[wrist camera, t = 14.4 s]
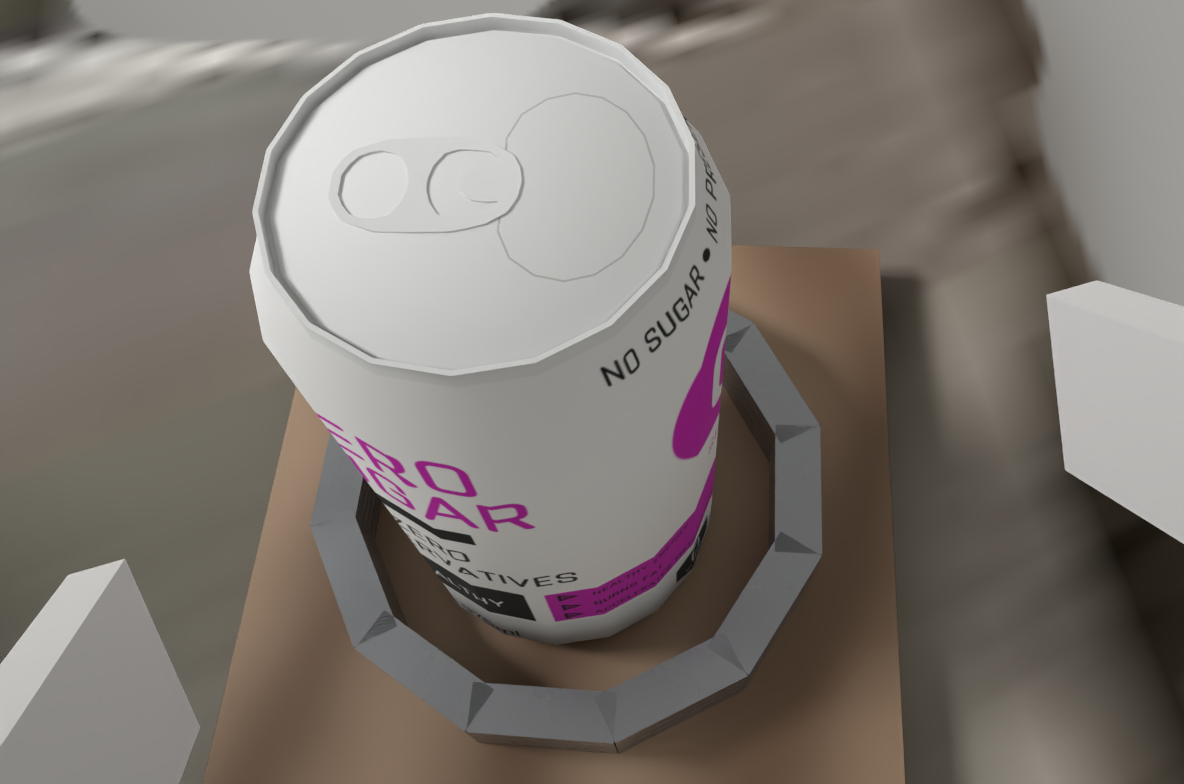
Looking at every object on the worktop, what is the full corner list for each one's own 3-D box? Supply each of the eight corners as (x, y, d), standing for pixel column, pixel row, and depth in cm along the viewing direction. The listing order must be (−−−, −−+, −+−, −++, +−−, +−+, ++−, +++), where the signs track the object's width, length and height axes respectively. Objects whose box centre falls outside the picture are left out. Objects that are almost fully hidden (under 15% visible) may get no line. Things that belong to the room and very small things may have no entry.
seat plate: (219, 814, 28) (196, 810, 26) (344, 259, 36) (331, 234, 34) (897, 874, 26) (909, 873, 24) (871, 275, 34) (879, 249, 32)
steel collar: (285, 727, 27) (242, 709, 24) (376, 285, 33) (350, 230, 30) (815, 769, 26) (830, 754, 23) (809, 298, 32) (821, 242, 29)
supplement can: (707, 378, 31) (730, -22, 17) (710, 654, 27) (743, 417, 14) (442, 378, 31) (267, -6, 18) (411, 647, 28) (163, 416, 14)
